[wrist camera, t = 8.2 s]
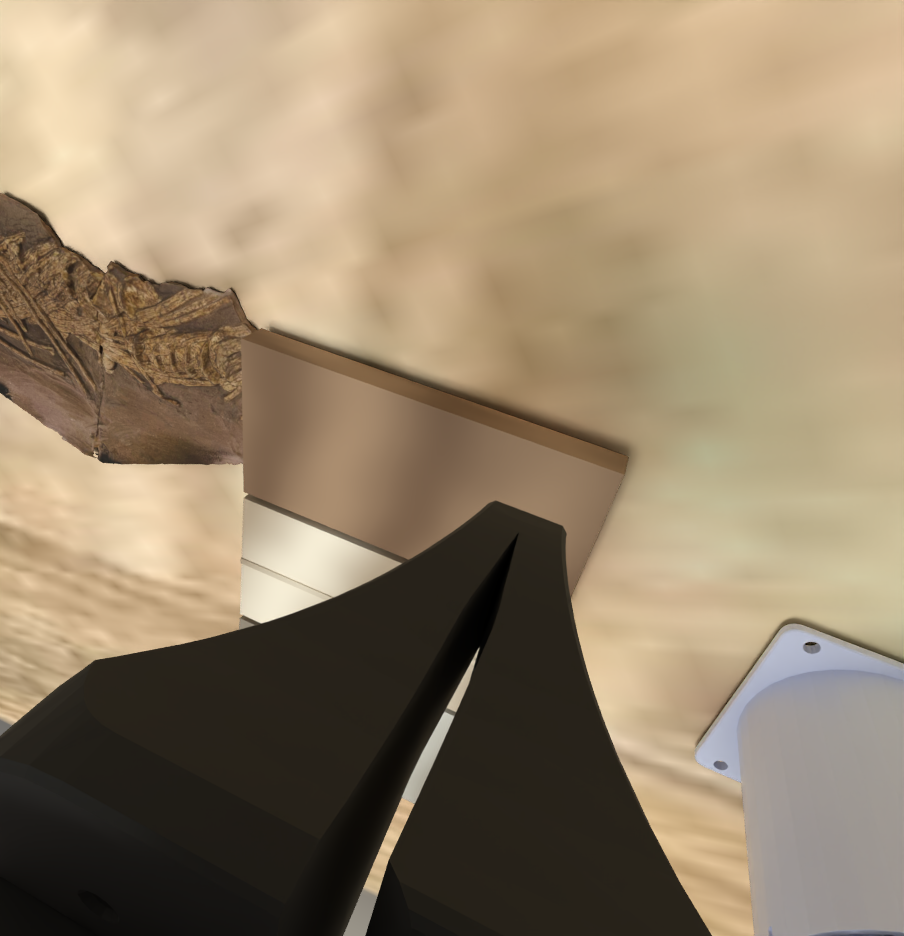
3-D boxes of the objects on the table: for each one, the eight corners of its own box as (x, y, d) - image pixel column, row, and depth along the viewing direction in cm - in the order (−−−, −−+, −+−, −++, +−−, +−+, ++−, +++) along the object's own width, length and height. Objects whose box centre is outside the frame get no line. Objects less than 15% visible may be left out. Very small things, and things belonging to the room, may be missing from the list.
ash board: (562, 607, 24) (556, 628, 23) (516, 715, 27) (509, 738, 26) (260, 484, 26) (242, 498, 25) (255, 598, 30) (239, 614, 29)
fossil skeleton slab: (328, 328, 22) (313, 335, 21) (289, 545, 28) (276, 558, 27) (-187, 105, 26) (-218, 103, 25) (-126, 337, 32) (-150, 342, 31)
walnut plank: (260, 477, 26) (243, 491, 25) (261, 328, 22) (241, 338, 21) (566, 600, 23) (559, 621, 22) (628, 456, 19) (624, 474, 19)
